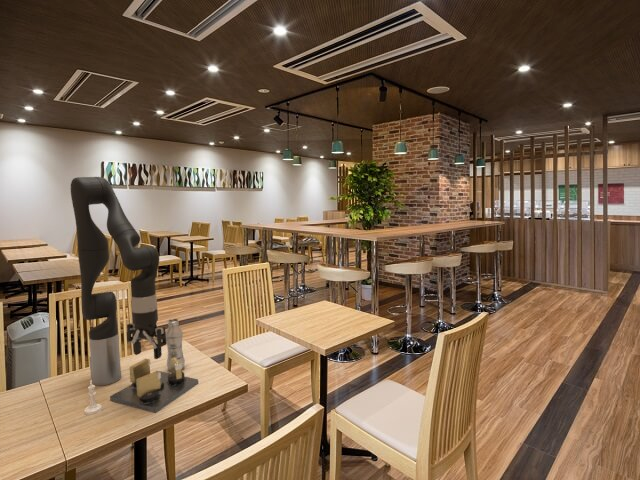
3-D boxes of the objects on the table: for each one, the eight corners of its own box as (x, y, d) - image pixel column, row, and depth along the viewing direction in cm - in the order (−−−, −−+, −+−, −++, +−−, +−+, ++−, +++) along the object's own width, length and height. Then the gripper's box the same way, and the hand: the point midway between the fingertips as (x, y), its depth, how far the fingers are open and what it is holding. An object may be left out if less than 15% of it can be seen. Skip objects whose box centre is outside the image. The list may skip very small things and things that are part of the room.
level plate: (109, 400, 124) (108, 392, 124) (155, 374, 143) (155, 367, 142) (155, 412, 116) (155, 404, 116) (198, 383, 135) (198, 376, 135)
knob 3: (165, 379, 135) (164, 359, 134) (181, 374, 138) (180, 355, 137) (171, 386, 129) (170, 366, 128) (187, 381, 132) (186, 361, 132)
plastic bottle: (179, 373, 143) (176, 323, 140) (163, 372, 144) (160, 322, 142) (188, 366, 149) (185, 318, 147) (173, 364, 150) (170, 317, 148)
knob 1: (138, 389, 128) (137, 368, 127) (126, 386, 130) (125, 366, 129) (155, 379, 134) (153, 360, 133) (143, 377, 136) (142, 357, 135)
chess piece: (83, 416, 115) (80, 385, 114) (85, 408, 119) (82, 379, 118) (101, 411, 117) (99, 382, 116) (102, 404, 122) (100, 375, 121)
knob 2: (143, 404, 118) (141, 382, 117) (134, 399, 121) (133, 377, 120) (164, 395, 124) (163, 373, 123) (155, 390, 127) (154, 369, 126)
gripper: (118, 309, 118) (121, 357, 120) (152, 314, 113) (155, 364, 115) (137, 302, 125) (140, 348, 127) (170, 307, 120) (173, 354, 122)
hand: (147, 356), depth 121 cm, fingers open, 8 cm apart
